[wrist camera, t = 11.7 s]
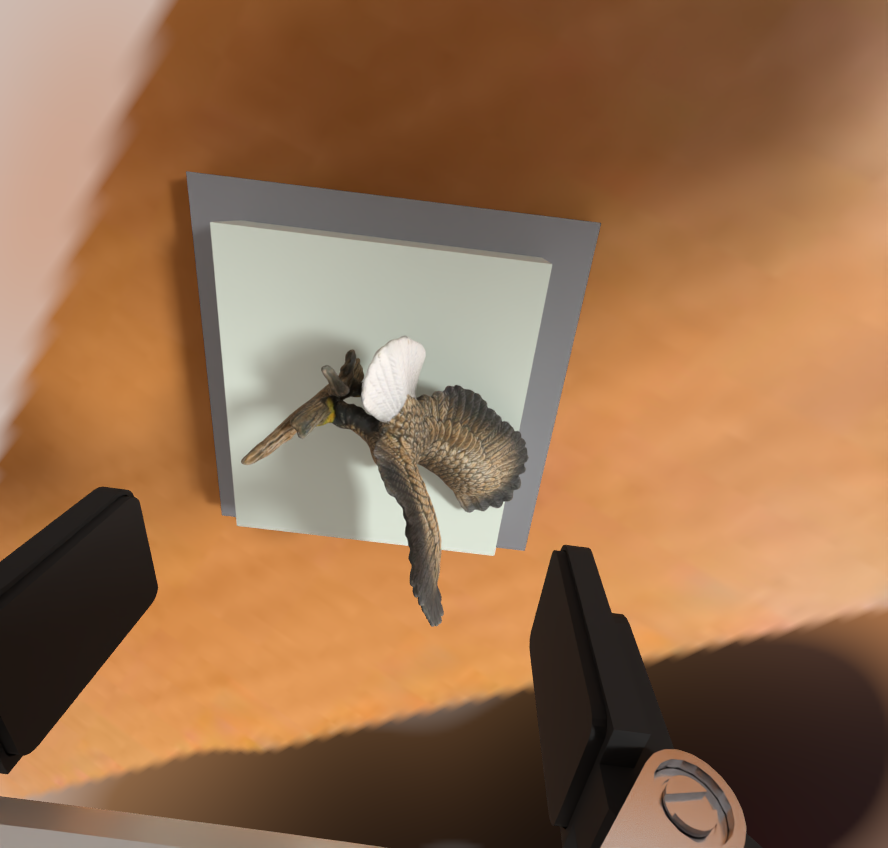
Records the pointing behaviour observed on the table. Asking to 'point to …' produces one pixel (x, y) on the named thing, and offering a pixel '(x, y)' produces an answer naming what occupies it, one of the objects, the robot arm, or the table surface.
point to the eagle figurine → (415, 446)
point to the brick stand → (376, 341)
